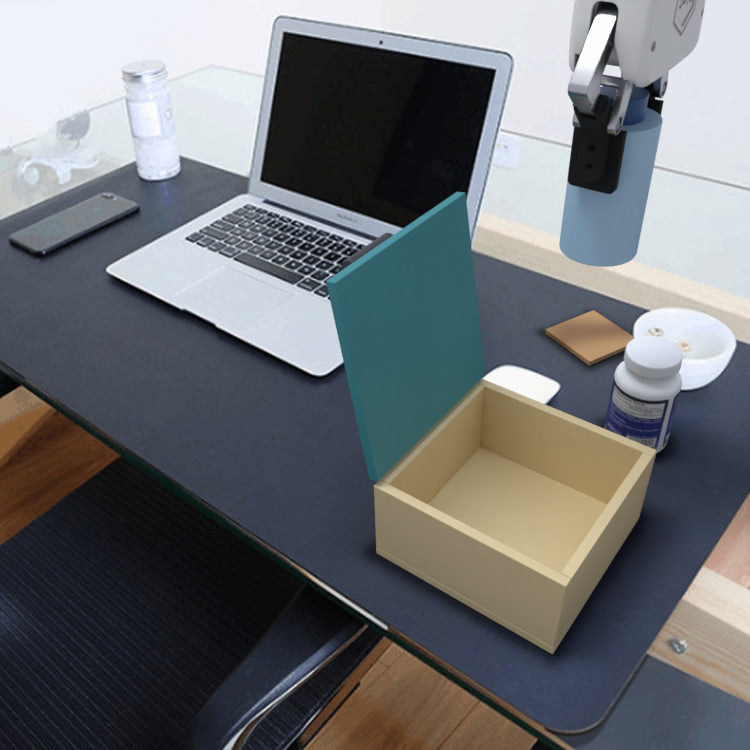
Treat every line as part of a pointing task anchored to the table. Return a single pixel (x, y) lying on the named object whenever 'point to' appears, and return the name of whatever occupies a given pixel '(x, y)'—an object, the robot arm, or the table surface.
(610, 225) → the water bottle
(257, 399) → the table surface
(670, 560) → the table surface
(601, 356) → the coaster mat
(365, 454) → the teal box lid
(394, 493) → the tan wooden box
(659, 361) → the pill bottle
